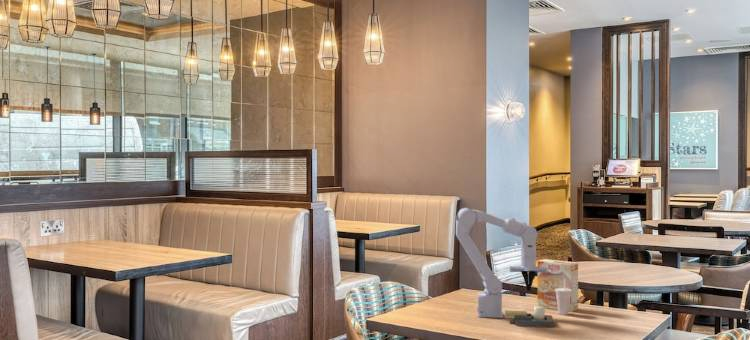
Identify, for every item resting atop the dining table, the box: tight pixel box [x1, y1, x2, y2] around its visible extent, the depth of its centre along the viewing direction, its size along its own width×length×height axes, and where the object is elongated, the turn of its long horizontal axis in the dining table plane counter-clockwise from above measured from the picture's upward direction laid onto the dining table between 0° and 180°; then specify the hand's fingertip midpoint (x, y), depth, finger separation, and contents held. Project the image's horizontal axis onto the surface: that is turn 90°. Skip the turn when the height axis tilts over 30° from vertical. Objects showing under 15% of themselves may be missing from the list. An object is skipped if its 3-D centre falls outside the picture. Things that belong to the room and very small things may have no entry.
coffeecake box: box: [537, 258, 579, 313], centre depth 269 cm, size 15×7×20 cm, turn 49°
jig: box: [513, 312, 555, 328], centre depth 244 cm, size 14×10×3 cm
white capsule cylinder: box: [533, 305, 546, 320], centre depth 244 cm, size 4×4×6 cm
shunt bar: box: [504, 310, 528, 319], centre depth 245 cm, size 8×3×2 cm, turn 81°
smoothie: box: [555, 279, 572, 316], centre depth 259 cm, size 6×6×14 cm
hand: (528, 290), depth 256 cm, fingers closed
